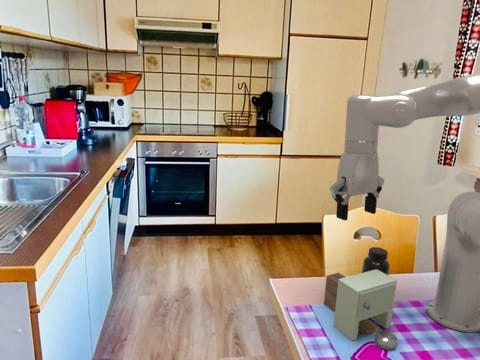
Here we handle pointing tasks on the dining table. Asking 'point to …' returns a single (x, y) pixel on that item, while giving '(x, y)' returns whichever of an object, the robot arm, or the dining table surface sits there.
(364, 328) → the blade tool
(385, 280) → the cabinet
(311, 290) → the dining table surface
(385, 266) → the supplement bottle
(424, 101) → the robot arm
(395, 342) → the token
